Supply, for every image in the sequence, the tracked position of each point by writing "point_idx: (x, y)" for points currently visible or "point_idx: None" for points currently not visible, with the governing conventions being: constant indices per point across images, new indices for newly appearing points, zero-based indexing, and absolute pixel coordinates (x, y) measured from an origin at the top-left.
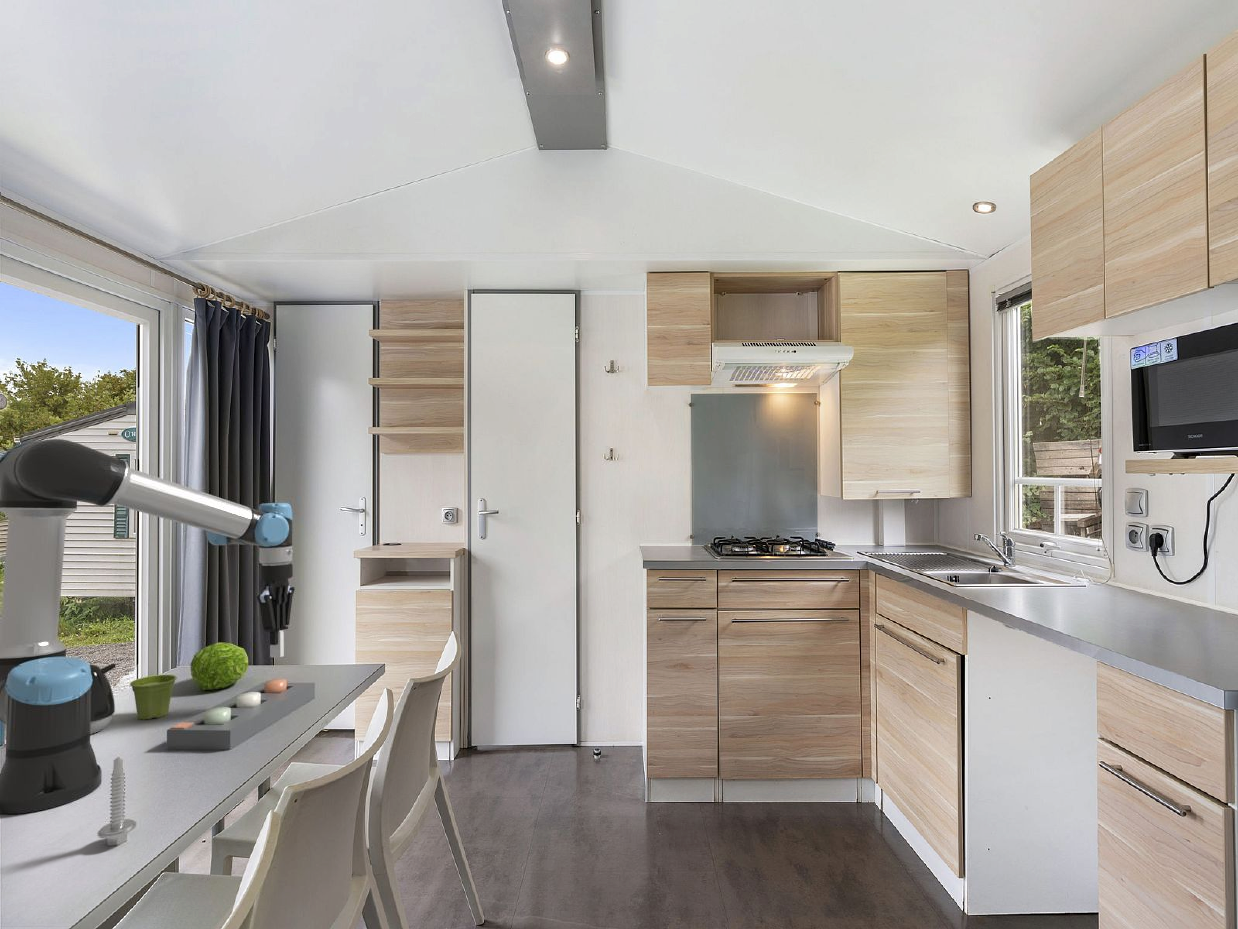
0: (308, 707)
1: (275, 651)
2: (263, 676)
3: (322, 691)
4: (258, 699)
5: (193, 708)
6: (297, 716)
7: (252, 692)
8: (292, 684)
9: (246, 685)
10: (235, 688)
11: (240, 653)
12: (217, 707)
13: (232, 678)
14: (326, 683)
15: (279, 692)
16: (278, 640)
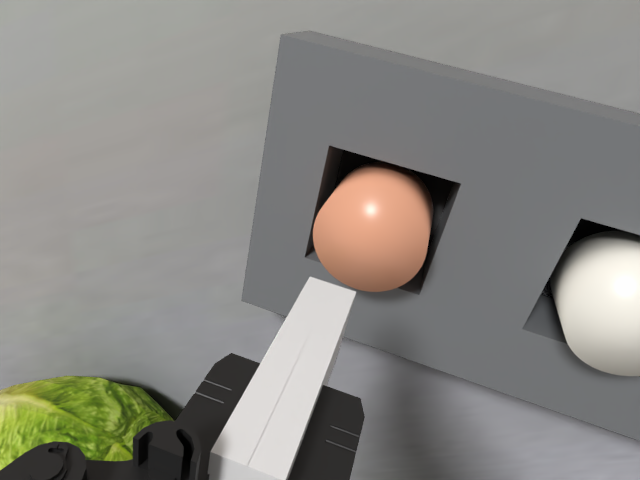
0: (465, 15)
1: (335, 355)
2: (24, 314)
3: (198, 24)
4: None
5: None
6: (626, 30)
7: (573, 317)
8: (295, 159)
9: (118, 345)
10: (149, 369)
11: None
12: (618, 412)
13: (144, 404)
14: (80, 45)
15: (420, 194)
16: (315, 407)
